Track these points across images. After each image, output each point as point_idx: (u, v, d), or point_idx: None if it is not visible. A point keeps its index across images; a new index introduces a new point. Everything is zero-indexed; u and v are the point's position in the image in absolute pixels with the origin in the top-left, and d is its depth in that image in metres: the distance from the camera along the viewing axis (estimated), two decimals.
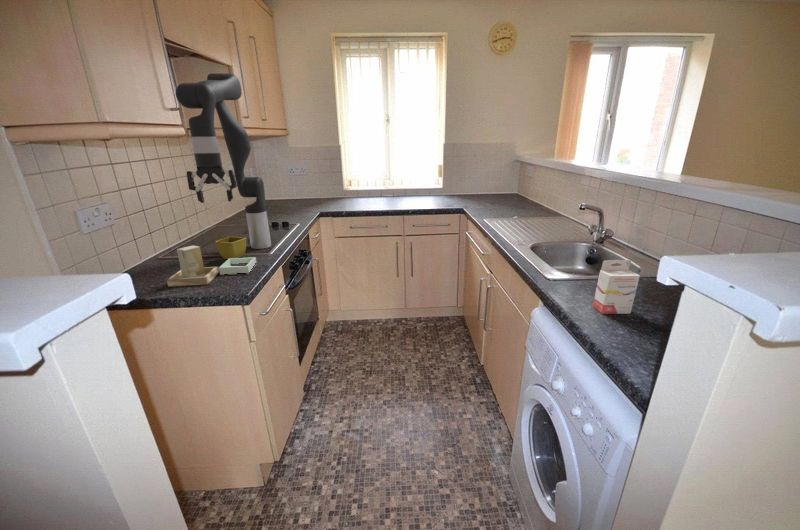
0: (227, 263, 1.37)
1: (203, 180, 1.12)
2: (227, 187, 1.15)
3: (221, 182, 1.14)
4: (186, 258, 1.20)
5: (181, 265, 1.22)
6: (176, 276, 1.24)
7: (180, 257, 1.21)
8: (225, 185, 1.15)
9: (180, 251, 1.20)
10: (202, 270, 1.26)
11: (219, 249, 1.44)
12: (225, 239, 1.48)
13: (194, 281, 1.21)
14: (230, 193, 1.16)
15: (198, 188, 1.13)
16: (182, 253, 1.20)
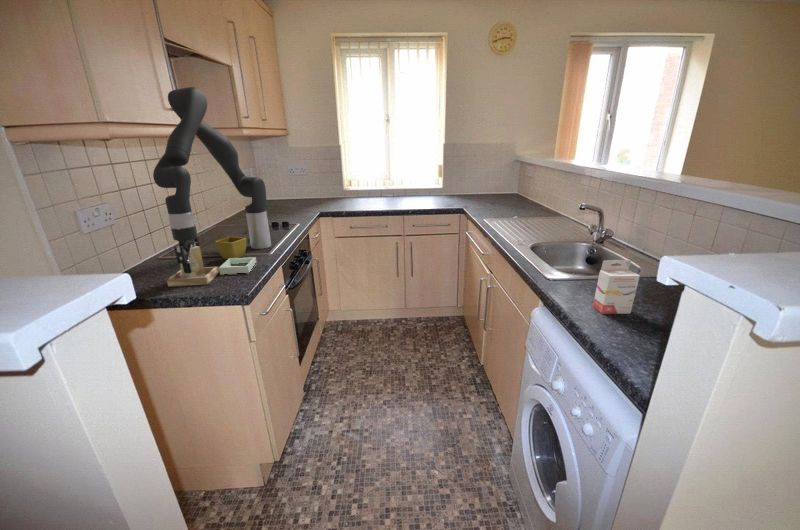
0: (227, 263, 1.37)
1: (191, 251, 1.21)
2: None
3: None
4: (186, 258, 1.20)
5: (181, 265, 1.22)
6: (176, 276, 1.24)
7: (180, 257, 1.21)
8: None
9: None
10: (202, 270, 1.26)
11: (219, 249, 1.44)
12: (225, 239, 1.48)
13: (194, 281, 1.21)
14: None
15: (188, 260, 1.20)
16: None
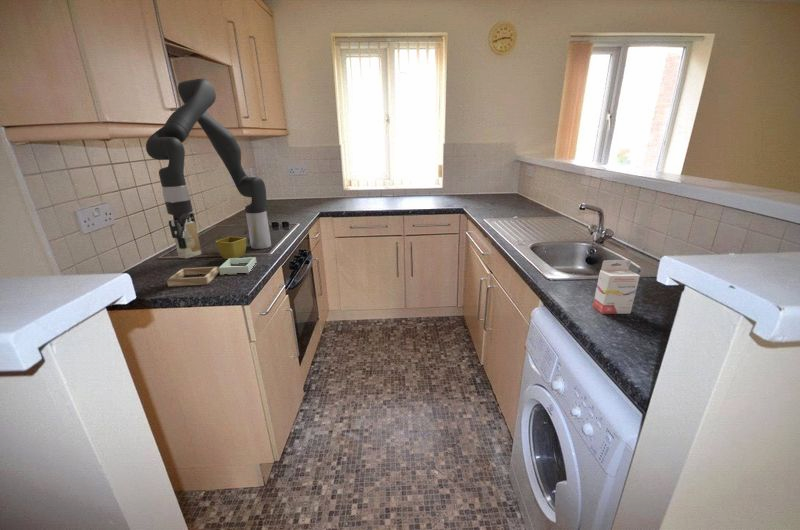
0: (227, 263, 1.37)
1: (185, 225, 1.18)
2: None
3: None
4: None
5: (176, 240, 1.20)
6: (176, 276, 1.24)
7: None
8: None
9: None
10: (198, 246, 1.24)
11: (219, 249, 1.44)
12: (225, 239, 1.48)
13: (194, 281, 1.21)
14: None
15: (183, 234, 1.17)
16: None
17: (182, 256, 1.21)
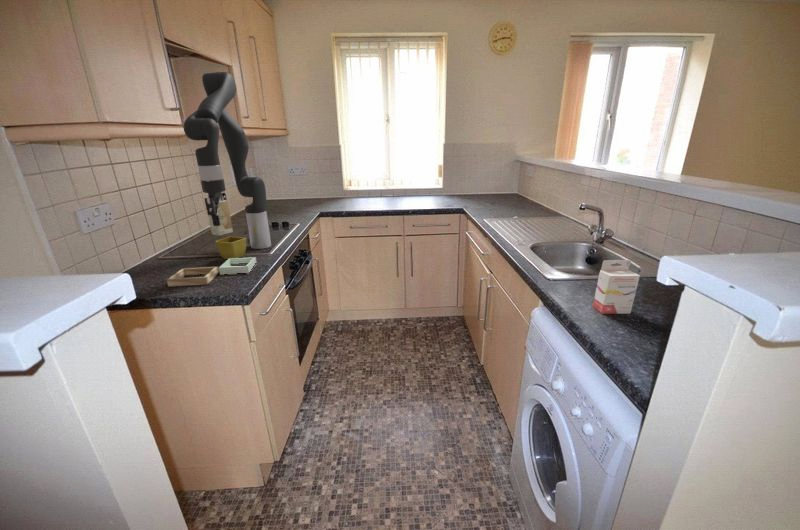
0: (227, 263, 1.37)
1: (219, 204, 1.24)
2: None
3: None
4: None
5: (210, 218, 1.26)
6: (176, 276, 1.24)
7: None
8: None
9: None
10: (230, 224, 1.30)
11: (219, 249, 1.44)
12: (225, 239, 1.48)
13: (194, 281, 1.21)
14: None
15: (217, 212, 1.23)
16: None
17: (215, 233, 1.27)
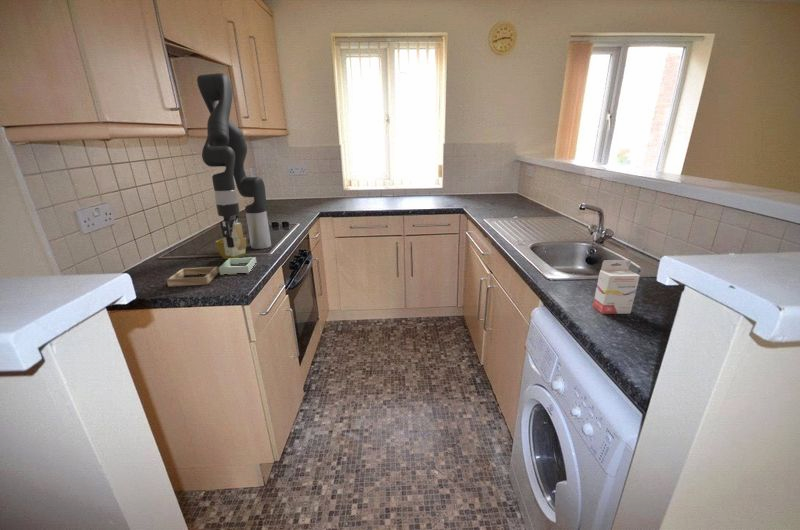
0: (227, 263, 1.37)
1: None
2: None
3: None
4: None
5: (224, 240, 1.30)
6: (176, 276, 1.24)
7: None
8: None
9: None
10: (243, 245, 1.34)
11: (219, 249, 1.44)
12: None
13: (194, 281, 1.21)
14: None
15: (232, 234, 1.28)
16: None
17: (229, 254, 1.31)
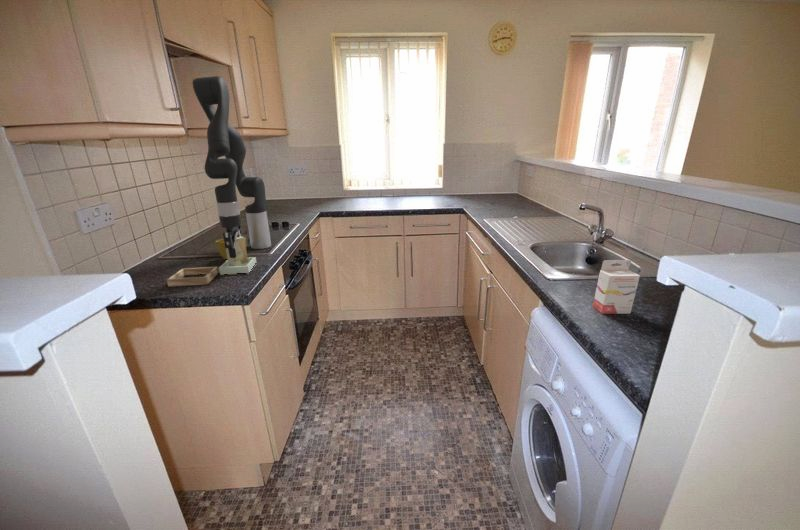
0: (227, 263, 1.37)
1: (236, 237, 1.30)
2: None
3: None
4: None
5: (227, 253, 1.33)
6: (176, 276, 1.24)
7: None
8: None
9: None
10: (246, 258, 1.37)
11: (219, 249, 1.44)
12: None
13: (194, 281, 1.21)
14: None
15: (234, 245, 1.29)
16: None
17: None
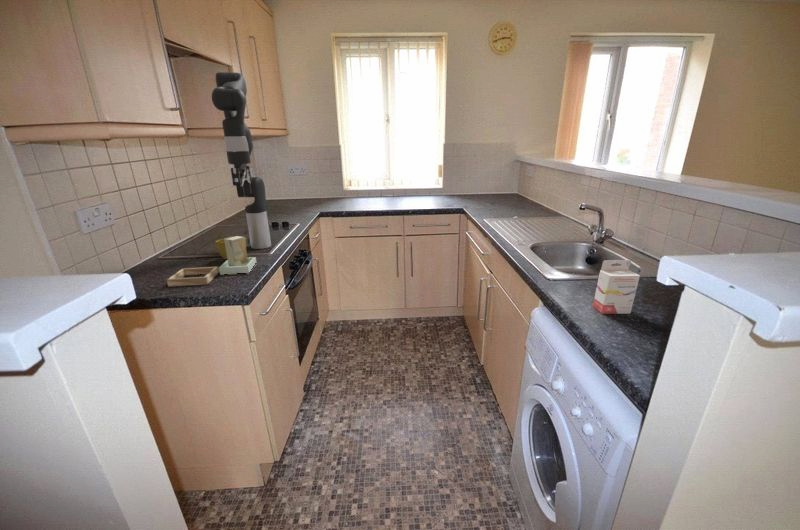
0: (227, 263, 1.37)
1: (244, 175, 1.24)
2: (249, 181, 1.31)
3: (249, 176, 1.29)
4: (233, 248, 1.31)
5: (227, 253, 1.33)
6: (176, 276, 1.24)
7: (227, 246, 1.32)
8: (249, 179, 1.31)
9: (227, 241, 1.31)
10: (246, 258, 1.37)
11: (219, 249, 1.44)
12: None
13: (194, 281, 1.21)
14: (249, 186, 1.32)
15: (242, 183, 1.23)
16: (229, 243, 1.30)
17: None
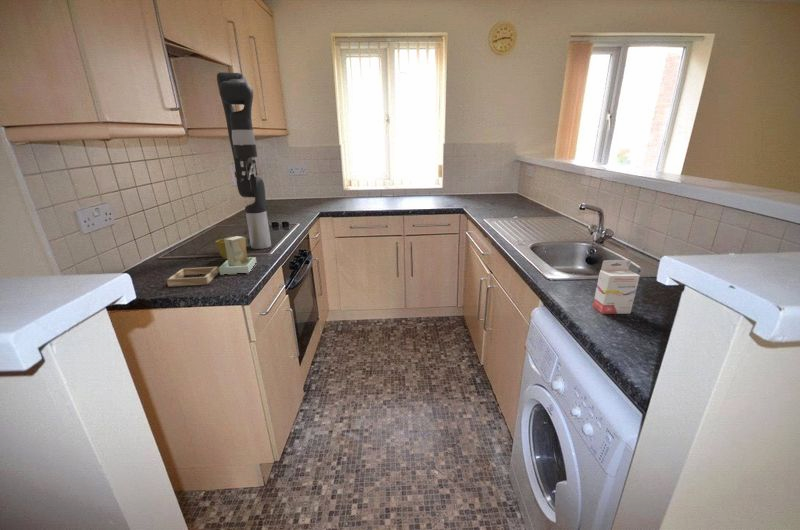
0: (227, 263, 1.37)
1: (251, 169, 1.24)
2: (255, 175, 1.31)
3: (255, 170, 1.29)
4: (233, 248, 1.31)
5: (227, 253, 1.33)
6: (176, 276, 1.24)
7: (227, 246, 1.32)
8: (255, 173, 1.31)
9: (227, 241, 1.31)
10: (246, 258, 1.37)
11: (219, 249, 1.44)
12: None
13: (194, 281, 1.21)
14: (255, 180, 1.32)
15: (249, 177, 1.23)
16: (229, 243, 1.30)
17: None
